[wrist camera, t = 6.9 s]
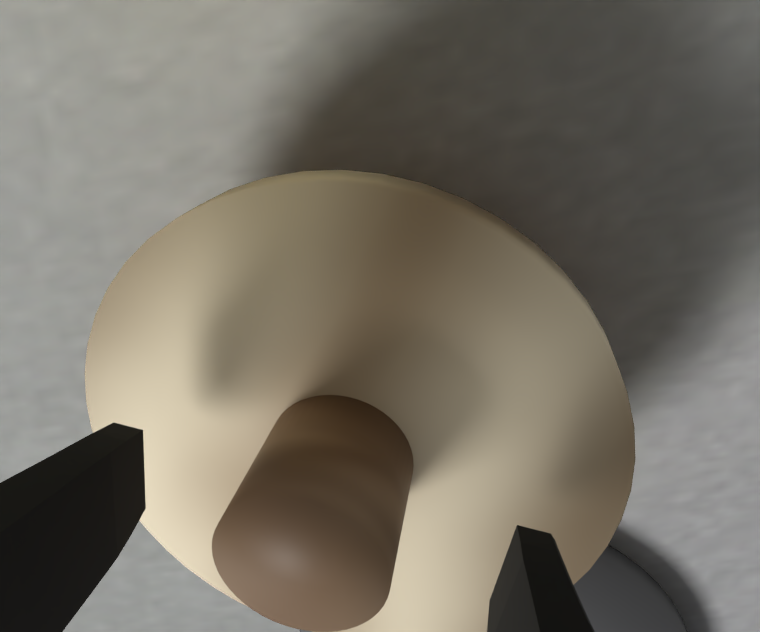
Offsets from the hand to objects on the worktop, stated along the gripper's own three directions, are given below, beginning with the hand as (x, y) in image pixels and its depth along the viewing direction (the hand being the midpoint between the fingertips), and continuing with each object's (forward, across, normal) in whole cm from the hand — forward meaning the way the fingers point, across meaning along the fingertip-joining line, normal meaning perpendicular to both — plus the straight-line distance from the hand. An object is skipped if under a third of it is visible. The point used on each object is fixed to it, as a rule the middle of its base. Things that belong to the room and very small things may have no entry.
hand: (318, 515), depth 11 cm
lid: (+3, 0, 0) cm, 3 cm away
